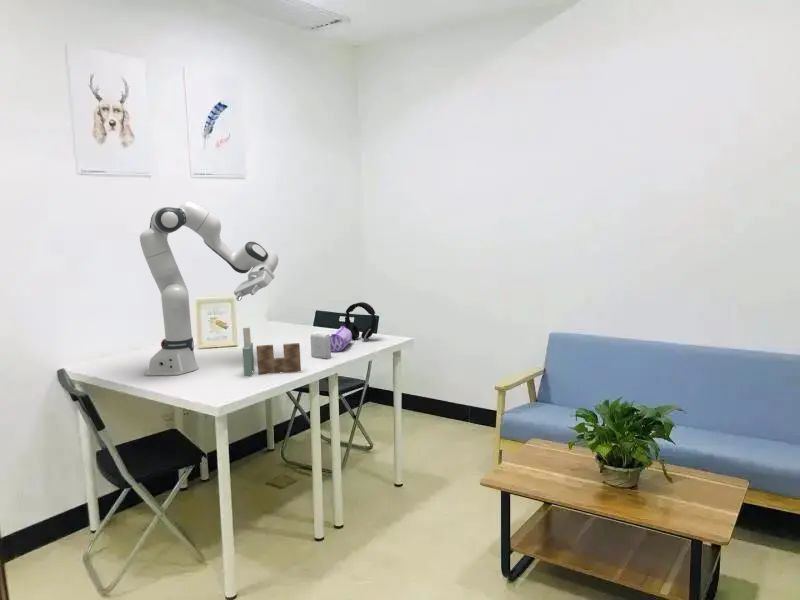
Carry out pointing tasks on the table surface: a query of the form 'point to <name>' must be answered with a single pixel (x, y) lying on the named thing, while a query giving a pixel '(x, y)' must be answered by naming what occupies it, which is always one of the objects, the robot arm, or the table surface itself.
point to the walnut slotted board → (278, 359)
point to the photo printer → (320, 344)
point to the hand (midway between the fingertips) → (244, 296)
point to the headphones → (353, 328)
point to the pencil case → (340, 339)
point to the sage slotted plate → (248, 353)
